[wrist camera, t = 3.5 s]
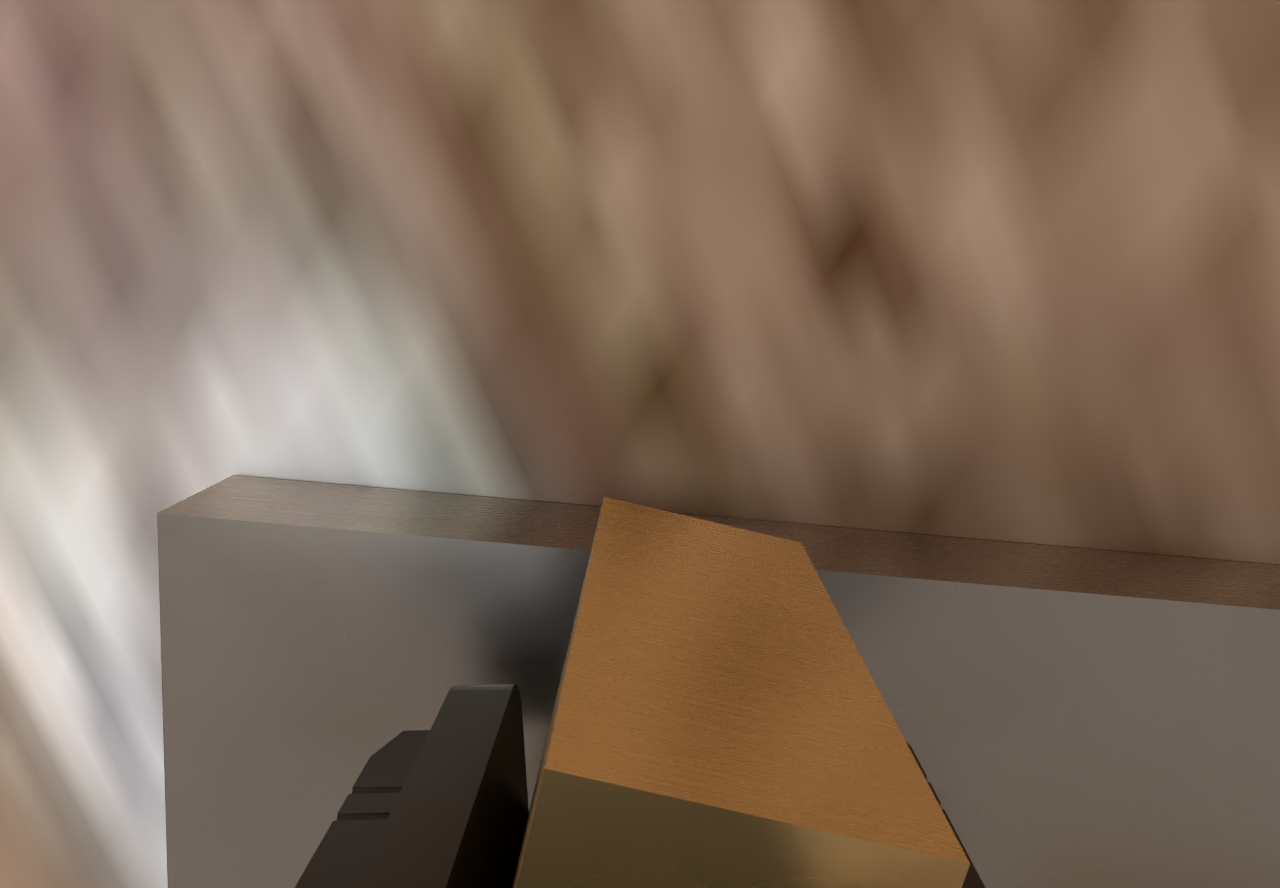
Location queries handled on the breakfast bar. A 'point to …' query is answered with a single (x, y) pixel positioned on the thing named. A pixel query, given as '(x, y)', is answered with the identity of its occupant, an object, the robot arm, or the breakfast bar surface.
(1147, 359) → the breakfast bar surface
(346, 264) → the breakfast bar surface
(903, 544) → the plate
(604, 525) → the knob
